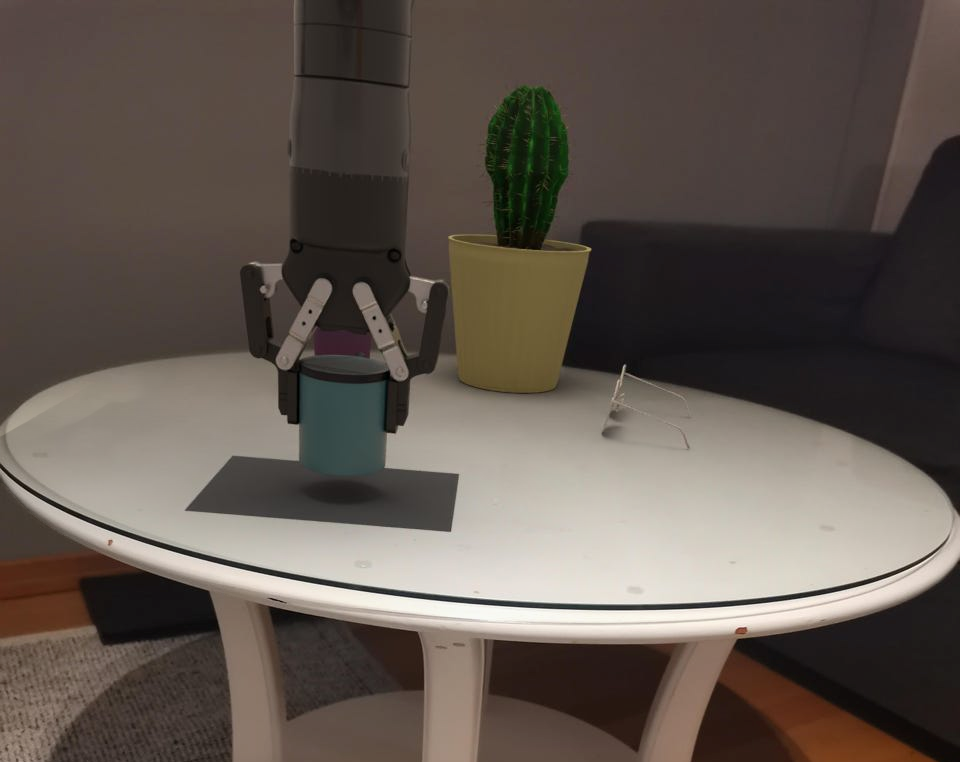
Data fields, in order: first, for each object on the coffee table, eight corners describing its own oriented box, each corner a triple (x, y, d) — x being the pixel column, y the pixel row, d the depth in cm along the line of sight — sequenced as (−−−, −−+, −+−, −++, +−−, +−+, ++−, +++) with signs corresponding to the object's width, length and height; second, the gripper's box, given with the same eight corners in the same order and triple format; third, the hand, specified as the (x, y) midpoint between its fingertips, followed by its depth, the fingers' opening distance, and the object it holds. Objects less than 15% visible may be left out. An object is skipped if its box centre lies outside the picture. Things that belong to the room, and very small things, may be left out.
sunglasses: (611, 406, 104) (625, 360, 101) (687, 429, 103) (703, 382, 101) (598, 439, 91) (614, 387, 89) (685, 464, 91) (703, 413, 88)
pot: (290, 471, 67) (290, 369, 64) (318, 428, 78) (320, 338, 74) (380, 480, 67) (385, 378, 64) (397, 436, 78) (402, 346, 75)
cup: (318, 404, 95) (318, 239, 88) (300, 387, 100) (299, 231, 94) (384, 402, 98) (389, 242, 91) (363, 386, 103) (366, 234, 96)
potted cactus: (583, 376, 116) (618, 89, 103) (564, 404, 103) (601, 78, 89) (458, 361, 119) (477, 79, 105) (424, 386, 105) (439, 66, 92)
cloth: (184, 515, 66) (184, 510, 65) (232, 460, 77) (232, 455, 77) (450, 536, 66) (451, 531, 66) (458, 478, 77) (459, 473, 77)
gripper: (465, 175, 65) (447, 422, 73) (250, 153, 65) (254, 404, 72) (460, 178, 58) (440, 450, 66) (220, 154, 58) (228, 430, 66)
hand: (343, 425), depth 69 cm, fingers closed on pot, 6 cm apart
